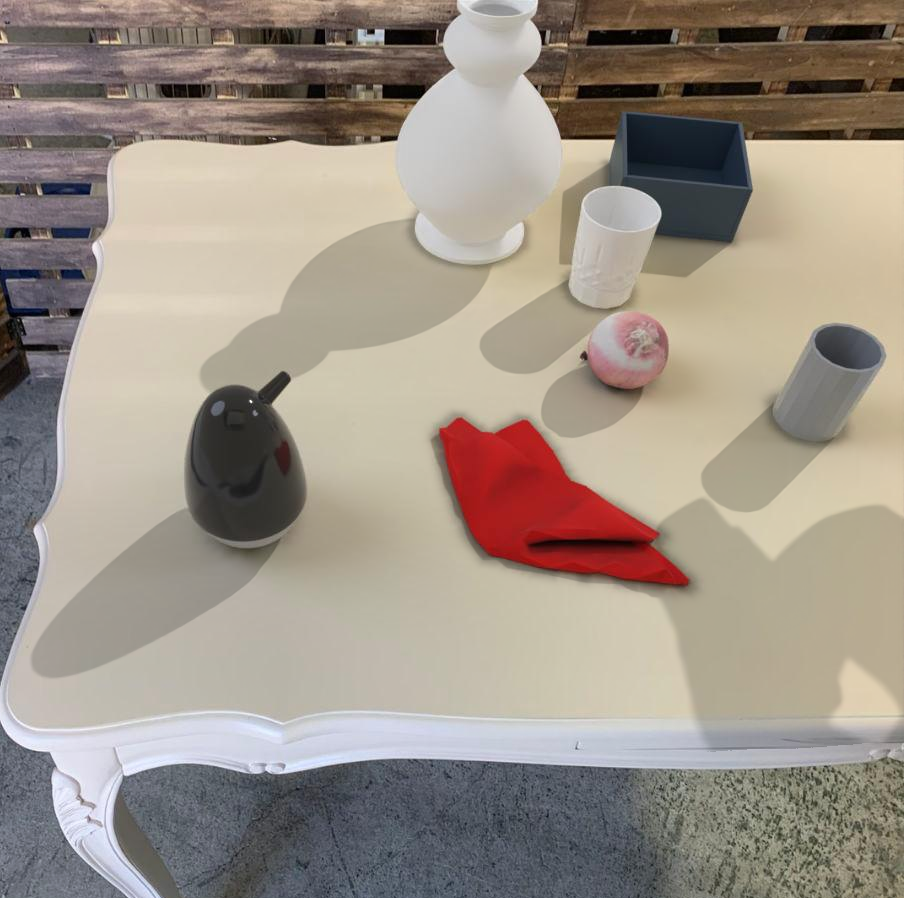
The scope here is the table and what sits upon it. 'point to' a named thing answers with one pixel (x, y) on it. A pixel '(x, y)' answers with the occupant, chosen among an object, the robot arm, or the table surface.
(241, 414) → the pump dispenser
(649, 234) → the white cup
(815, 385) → the steel cup
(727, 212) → the basket
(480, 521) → the cloth
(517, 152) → the decorative vase
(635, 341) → the onion
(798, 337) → the table surface
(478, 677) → the table surface
